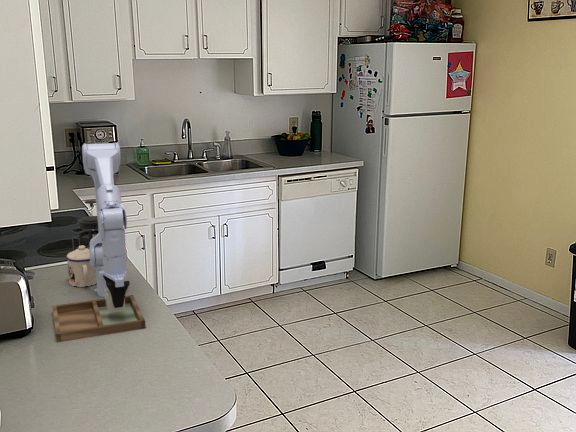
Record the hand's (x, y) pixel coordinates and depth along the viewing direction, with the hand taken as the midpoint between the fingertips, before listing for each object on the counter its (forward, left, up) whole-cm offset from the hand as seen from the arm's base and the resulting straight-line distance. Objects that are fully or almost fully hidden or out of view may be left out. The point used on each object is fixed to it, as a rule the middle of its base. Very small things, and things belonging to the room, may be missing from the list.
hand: (117, 303), depth 154 cm
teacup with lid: (-30, -5, -5) cm, 31 cm away
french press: (-42, -1, -5) cm, 42 cm away
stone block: (0, 0, -1) cm, 1 cm away
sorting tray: (0, -5, -5) cm, 7 cm away
